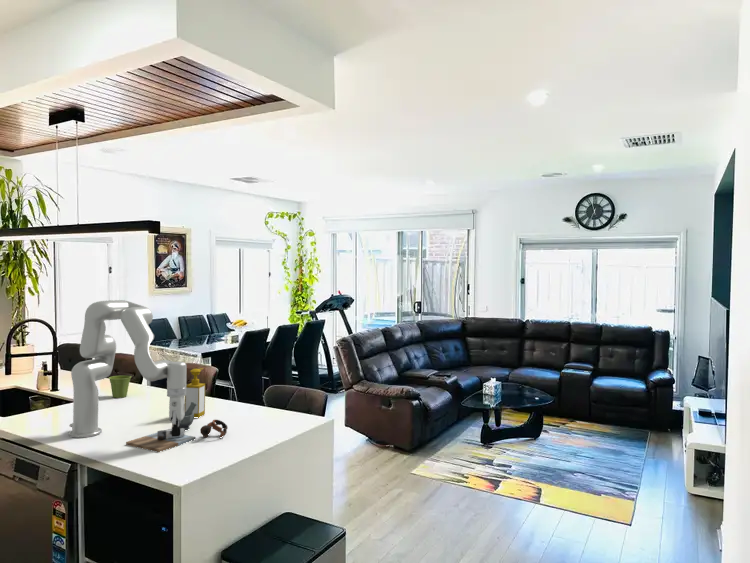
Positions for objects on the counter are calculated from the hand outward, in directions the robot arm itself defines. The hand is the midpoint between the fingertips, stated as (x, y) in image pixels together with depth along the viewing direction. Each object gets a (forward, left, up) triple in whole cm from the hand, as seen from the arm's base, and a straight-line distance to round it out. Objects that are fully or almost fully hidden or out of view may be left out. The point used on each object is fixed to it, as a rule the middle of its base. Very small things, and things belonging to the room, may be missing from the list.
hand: (176, 435), depth 220 cm
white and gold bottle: (-26, +37, -3) cm, 45 cm away
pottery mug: (+8, +13, -3) cm, 15 cm away
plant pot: (-93, +45, -3) cm, 103 cm away
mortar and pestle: (-12, +15, -3) cm, 20 cm away
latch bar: (-3, 0, -1) cm, 3 cm away
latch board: (-5, -3, -3) cm, 6 cm away
